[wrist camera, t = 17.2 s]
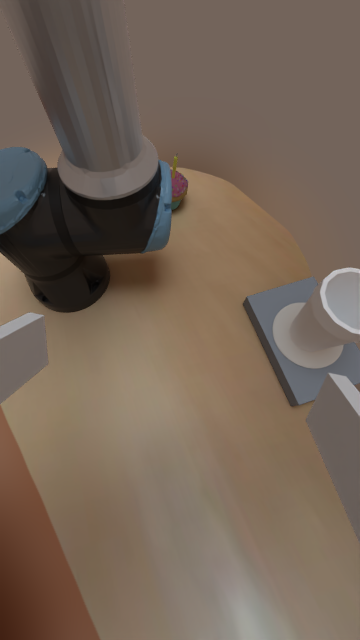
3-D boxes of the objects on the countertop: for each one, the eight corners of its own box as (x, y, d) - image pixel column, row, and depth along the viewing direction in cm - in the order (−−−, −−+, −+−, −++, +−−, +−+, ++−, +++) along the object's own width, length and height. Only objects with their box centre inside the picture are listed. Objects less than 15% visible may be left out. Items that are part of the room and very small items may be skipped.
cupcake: (189, 192, 59) (191, 139, 48) (184, 218, 56) (186, 169, 45) (154, 188, 60) (148, 136, 49) (148, 215, 56) (140, 165, 45)
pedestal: (242, 303, 48) (247, 295, 45) (306, 284, 49) (314, 275, 46) (291, 406, 41) (300, 405, 37) (363, 379, 42) (377, 376, 39)
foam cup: (328, 370, 39) (393, 349, 27) (273, 346, 41) (312, 316, 29) (340, 322, 43) (403, 284, 31) (289, 301, 44) (330, 257, 32)
